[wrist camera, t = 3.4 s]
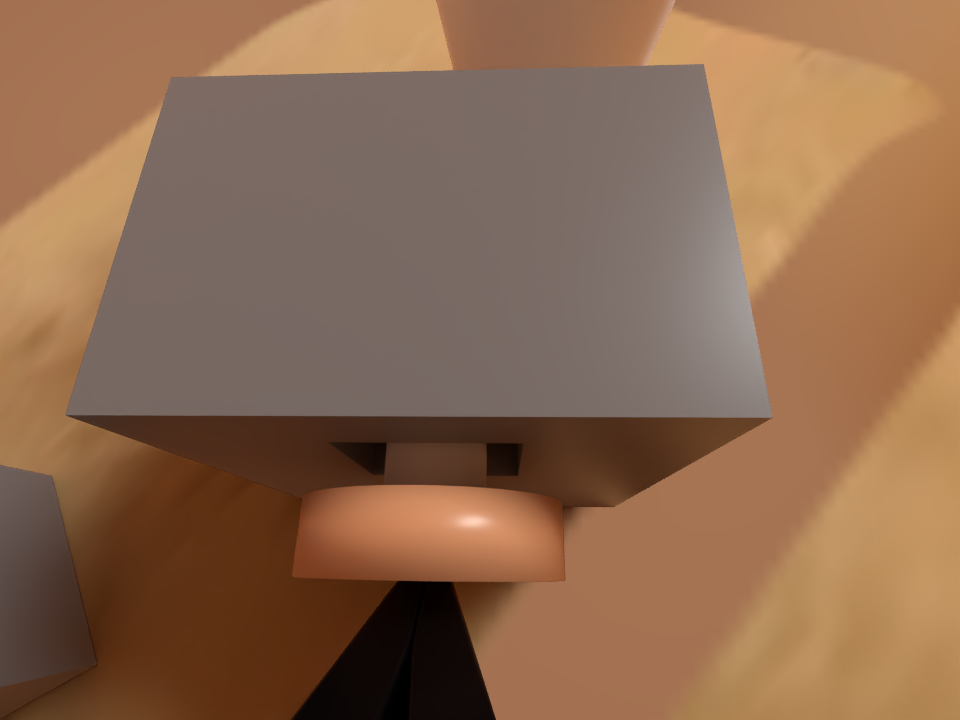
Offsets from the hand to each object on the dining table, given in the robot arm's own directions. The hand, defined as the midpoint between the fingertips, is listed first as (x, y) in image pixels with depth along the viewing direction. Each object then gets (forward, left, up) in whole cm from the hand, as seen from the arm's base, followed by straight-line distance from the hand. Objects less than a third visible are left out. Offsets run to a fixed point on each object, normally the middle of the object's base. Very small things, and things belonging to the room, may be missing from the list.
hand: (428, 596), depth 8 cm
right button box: (+4, +4, -7) cm, 9 cm away
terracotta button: (+2, +2, -2) cm, 4 cm away
